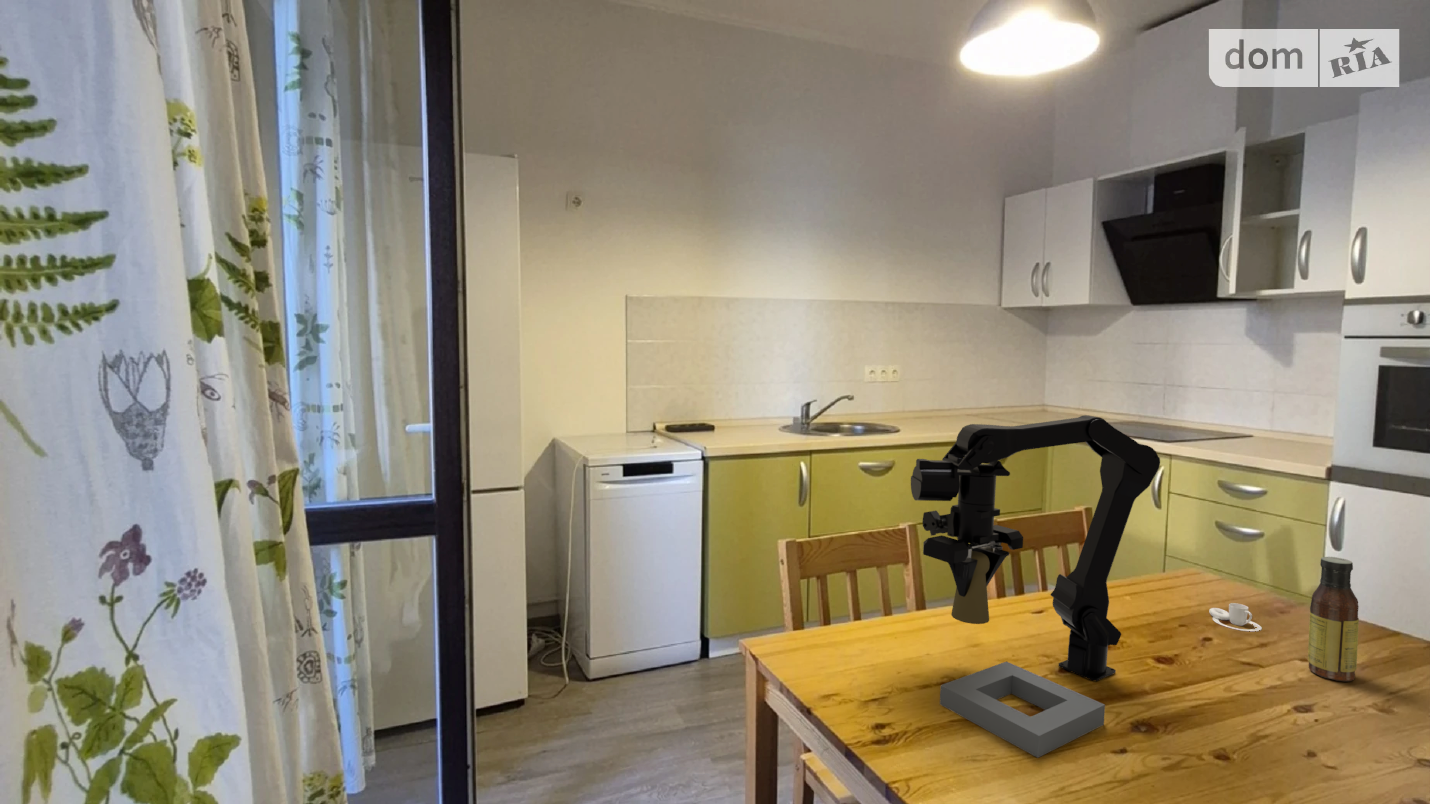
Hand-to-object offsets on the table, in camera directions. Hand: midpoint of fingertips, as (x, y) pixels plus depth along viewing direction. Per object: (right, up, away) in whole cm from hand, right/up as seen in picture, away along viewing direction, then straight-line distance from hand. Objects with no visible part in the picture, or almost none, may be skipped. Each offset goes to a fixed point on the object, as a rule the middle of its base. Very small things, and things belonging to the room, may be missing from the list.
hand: (971, 593), depth 117 cm
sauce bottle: (+61, -14, +2) cm, 63 cm away
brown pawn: (0, -4, 0) cm, 4 cm away
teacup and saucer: (+64, -13, +26) cm, 70 cm away
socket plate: (+2, -14, -14) cm, 20 cm away
